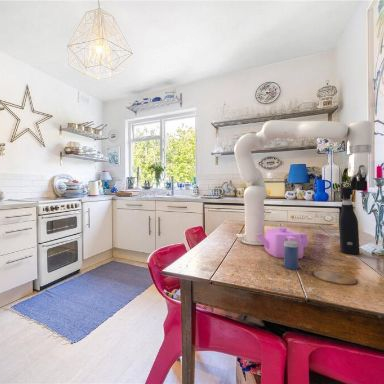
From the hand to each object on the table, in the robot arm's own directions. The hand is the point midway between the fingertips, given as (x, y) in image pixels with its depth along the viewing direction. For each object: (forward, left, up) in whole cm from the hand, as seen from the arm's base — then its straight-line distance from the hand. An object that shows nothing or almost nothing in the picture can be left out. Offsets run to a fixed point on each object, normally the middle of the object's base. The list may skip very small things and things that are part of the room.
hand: (358, 190), depth 102 cm
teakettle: (-28, -11, -29) cm, 42 cm away
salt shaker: (-25, -30, -29) cm, 49 cm away
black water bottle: (-1, +5, -29) cm, 30 cm away
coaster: (-13, -35, -29) cm, 47 cm away
